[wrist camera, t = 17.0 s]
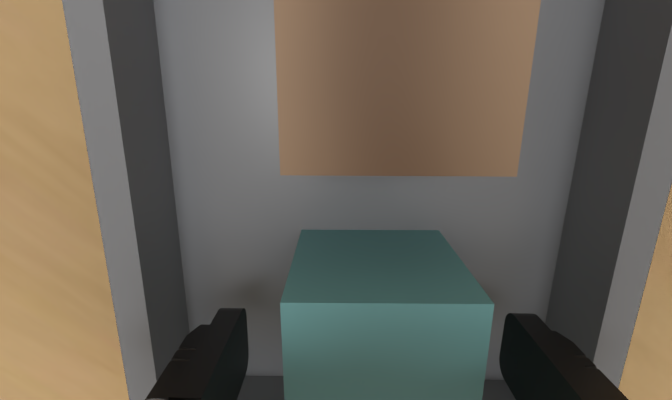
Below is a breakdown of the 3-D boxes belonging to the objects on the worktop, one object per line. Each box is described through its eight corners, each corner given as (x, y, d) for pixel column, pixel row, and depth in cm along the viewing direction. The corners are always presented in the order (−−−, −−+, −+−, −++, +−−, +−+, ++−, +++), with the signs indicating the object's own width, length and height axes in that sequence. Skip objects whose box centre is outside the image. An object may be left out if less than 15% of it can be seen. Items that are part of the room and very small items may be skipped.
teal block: (438, 229, 13) (494, 304, 9) (429, 347, 15) (473, 469, 10) (301, 229, 13) (280, 302, 9) (304, 346, 15) (287, 467, 10)
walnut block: (463, -17, 11) (555, -104, 6) (449, 146, 13) (516, 176, 8) (299, -17, 11) (270, -104, 6) (303, 146, 13) (279, 175, 8)
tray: (639, -99, 11) (766, -183, 8) (544, 386, 16) (599, 462, 13) (122, -103, 11) (30, -188, 8) (180, 380, 16) (138, 454, 13)
